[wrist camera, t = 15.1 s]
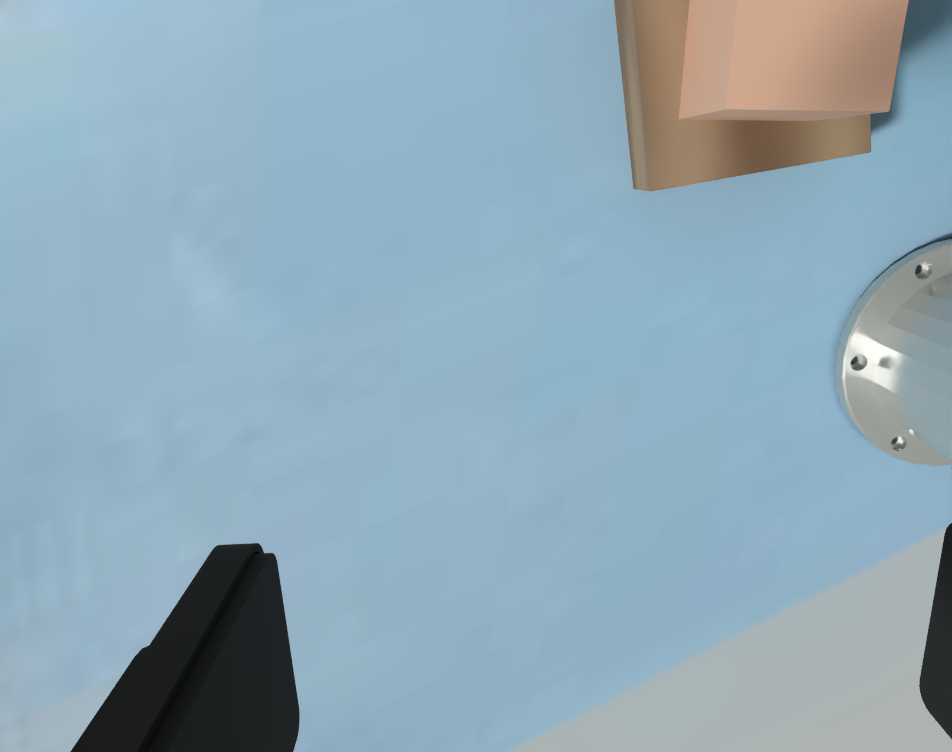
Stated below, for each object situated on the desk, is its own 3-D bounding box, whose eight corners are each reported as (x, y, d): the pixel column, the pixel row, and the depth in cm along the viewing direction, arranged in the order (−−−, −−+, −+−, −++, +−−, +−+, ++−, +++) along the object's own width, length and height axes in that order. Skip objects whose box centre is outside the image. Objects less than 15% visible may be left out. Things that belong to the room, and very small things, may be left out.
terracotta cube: (834, -30, 29) (922, -77, 24) (812, 121, 31) (889, 111, 25) (692, -33, 29) (746, -80, 24) (678, 119, 31) (725, 109, 25)
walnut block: (822, -69, 32) (869, -100, 29) (827, 153, 35) (870, 152, 32) (609, -28, 33) (627, -53, 29) (631, 188, 36) (651, 191, 32)
